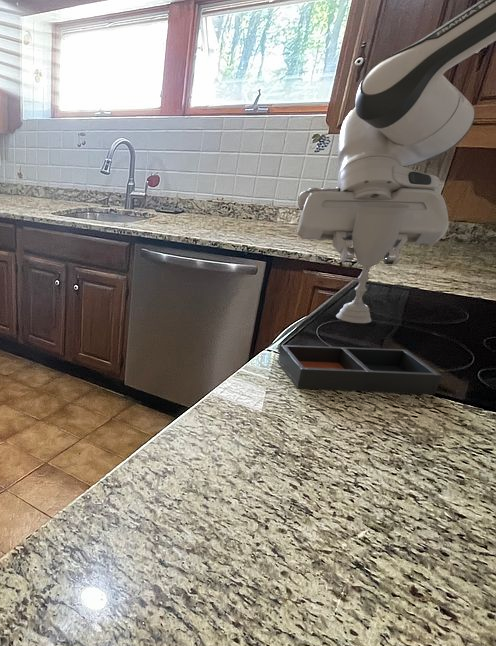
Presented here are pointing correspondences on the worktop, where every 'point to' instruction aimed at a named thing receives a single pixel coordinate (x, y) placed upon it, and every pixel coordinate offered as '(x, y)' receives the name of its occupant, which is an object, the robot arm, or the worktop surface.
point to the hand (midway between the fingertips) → (369, 261)
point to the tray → (358, 369)
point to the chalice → (371, 248)
